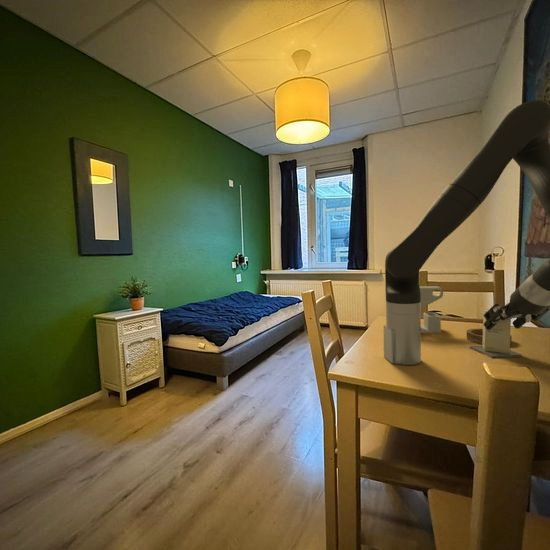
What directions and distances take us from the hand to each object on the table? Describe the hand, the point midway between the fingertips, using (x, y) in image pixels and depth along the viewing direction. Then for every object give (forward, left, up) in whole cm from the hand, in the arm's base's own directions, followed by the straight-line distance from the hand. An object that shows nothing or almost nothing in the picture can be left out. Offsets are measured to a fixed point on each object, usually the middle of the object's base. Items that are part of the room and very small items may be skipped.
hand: (500, 326), depth 86 cm
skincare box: (0, +2, -8) cm, 8 cm away
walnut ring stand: (+6, +14, -8) cm, 17 cm away
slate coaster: (0, +2, -8) cm, 9 cm away
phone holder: (-10, +30, -9) cm, 33 cm away
